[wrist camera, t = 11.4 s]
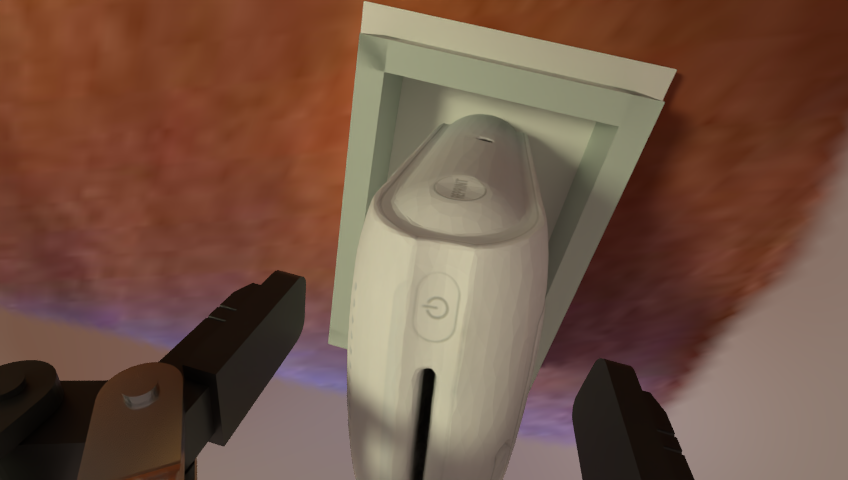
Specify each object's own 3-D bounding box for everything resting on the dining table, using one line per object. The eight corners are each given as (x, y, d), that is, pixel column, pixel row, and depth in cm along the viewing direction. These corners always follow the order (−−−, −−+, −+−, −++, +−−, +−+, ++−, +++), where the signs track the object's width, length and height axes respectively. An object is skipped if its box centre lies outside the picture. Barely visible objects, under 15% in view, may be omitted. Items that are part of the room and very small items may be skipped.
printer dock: (371, 3, 16) (333, -9, 13) (667, 68, 15) (715, 75, 12) (338, 306, 24) (308, 352, 20) (533, 362, 23) (538, 420, 19)
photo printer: (434, 105, 16) (289, 223, 6) (538, 115, 16) (606, 271, 5) (418, 303, 21) (323, 577, 10) (498, 317, 21) (487, 624, 10)
